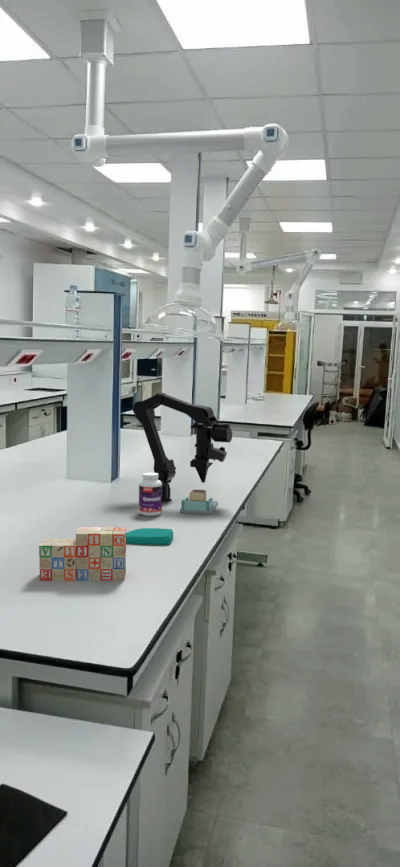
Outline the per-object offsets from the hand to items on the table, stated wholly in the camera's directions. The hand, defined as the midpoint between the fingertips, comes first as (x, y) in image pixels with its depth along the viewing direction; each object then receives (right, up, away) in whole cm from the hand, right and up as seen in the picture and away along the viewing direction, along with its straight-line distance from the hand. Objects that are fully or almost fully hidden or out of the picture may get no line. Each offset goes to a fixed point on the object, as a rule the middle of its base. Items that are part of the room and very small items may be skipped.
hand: (203, 482), depth 242 cm
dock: (-1, -9, -4) cm, 10 cm away
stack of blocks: (-31, -19, -76) cm, 84 cm away
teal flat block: (-22, -15, -43) cm, 51 cm away
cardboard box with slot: (-2, -8, -7) cm, 11 cm away
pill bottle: (-19, -10, -13) cm, 25 cm away
